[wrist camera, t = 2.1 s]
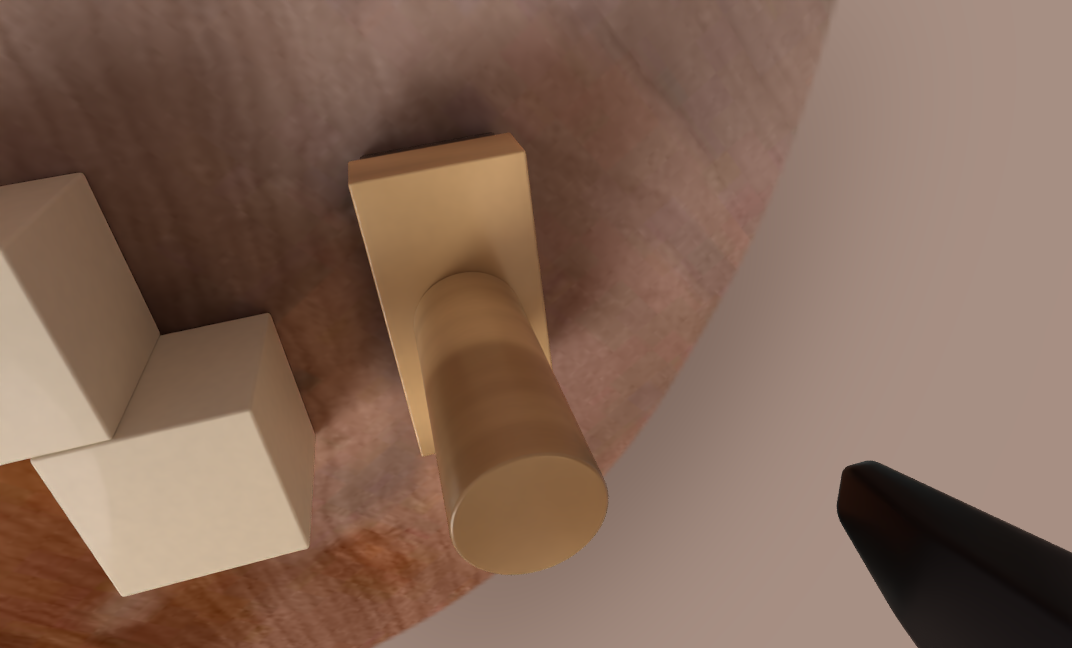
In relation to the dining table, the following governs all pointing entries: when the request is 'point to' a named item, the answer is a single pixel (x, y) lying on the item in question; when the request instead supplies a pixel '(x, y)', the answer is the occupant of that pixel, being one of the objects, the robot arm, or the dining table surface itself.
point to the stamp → (478, 348)
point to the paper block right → (195, 462)
